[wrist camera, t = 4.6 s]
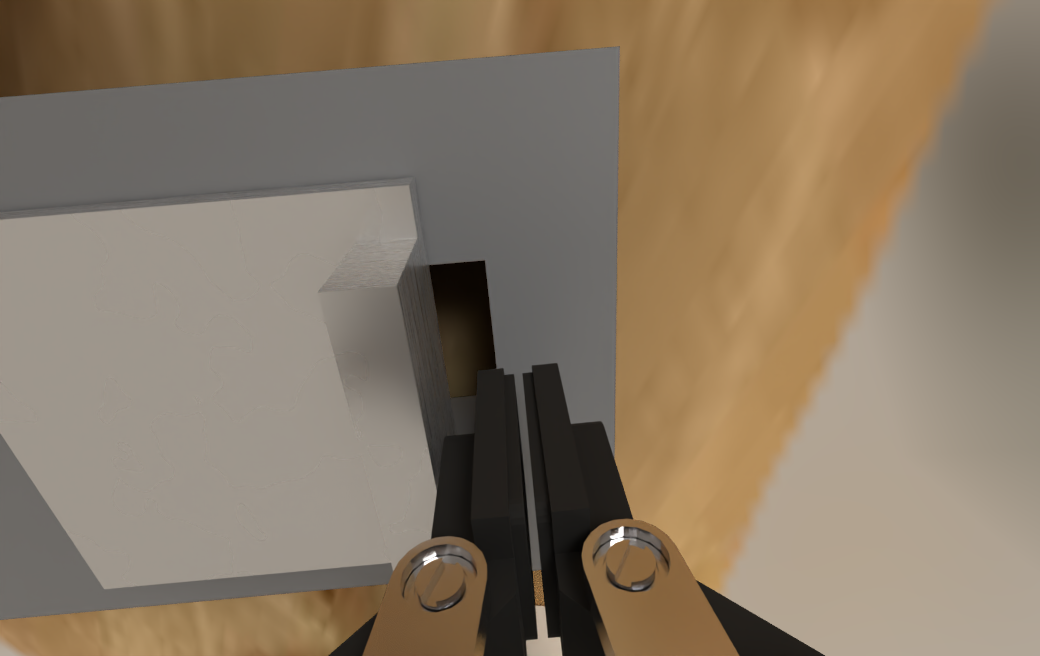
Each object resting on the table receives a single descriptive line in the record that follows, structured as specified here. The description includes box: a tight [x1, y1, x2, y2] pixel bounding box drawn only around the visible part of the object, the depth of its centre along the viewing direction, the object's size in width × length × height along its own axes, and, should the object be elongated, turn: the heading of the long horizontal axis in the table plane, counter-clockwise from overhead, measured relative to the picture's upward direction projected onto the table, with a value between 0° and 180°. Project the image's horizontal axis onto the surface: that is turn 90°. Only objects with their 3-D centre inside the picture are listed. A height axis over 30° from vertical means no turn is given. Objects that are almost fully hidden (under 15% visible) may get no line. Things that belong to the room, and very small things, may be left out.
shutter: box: [0, 177, 456, 589], centre depth 11 cm, size 10×10×3 cm
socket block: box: [0, 46, 620, 620], centre depth 14 cm, size 14×20×4 cm
